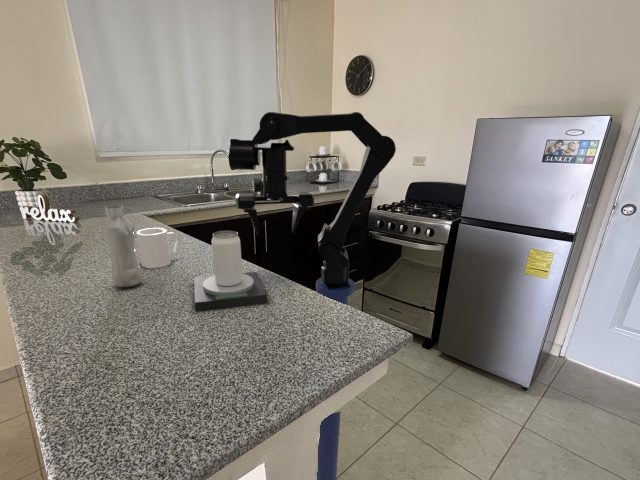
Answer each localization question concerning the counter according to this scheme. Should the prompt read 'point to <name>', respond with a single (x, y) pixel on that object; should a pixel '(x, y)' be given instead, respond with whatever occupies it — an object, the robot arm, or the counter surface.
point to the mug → (156, 247)
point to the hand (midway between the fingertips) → (275, 234)
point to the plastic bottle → (121, 247)
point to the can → (227, 258)
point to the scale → (228, 293)
